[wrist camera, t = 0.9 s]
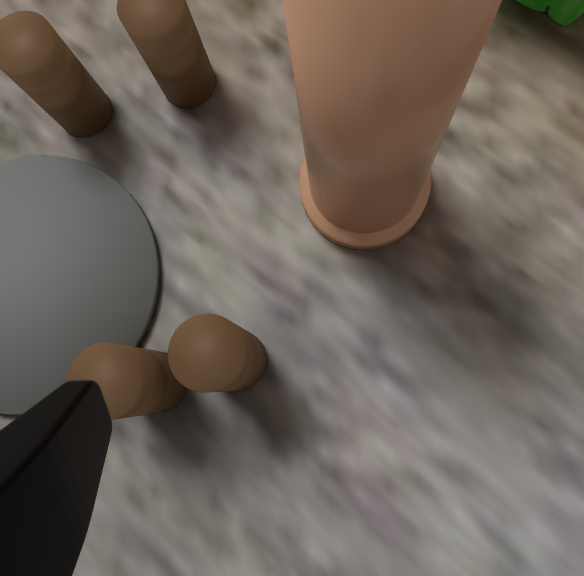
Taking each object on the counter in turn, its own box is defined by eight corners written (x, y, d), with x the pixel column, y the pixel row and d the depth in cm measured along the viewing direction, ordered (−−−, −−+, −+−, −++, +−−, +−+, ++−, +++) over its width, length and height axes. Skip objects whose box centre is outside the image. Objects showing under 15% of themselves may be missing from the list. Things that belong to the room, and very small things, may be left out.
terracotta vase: (447, 222, 21) (643, -69, 8) (327, 268, 21) (307, 61, 8) (398, 113, 22) (493, -317, 9) (283, 157, 22) (198, -200, 9)
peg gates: (322, 360, 21) (317, 352, 16) (140, 429, 21) (80, 442, 16) (202, 41, 24) (167, -48, 19) (43, 102, 24) (-32, 30, 19)
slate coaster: (194, 357, 21) (191, 357, 21) (-59, 453, 21) (-67, 454, 21) (117, 123, 23) (113, 119, 23) (-112, 212, 24) (-119, 209, 23)
